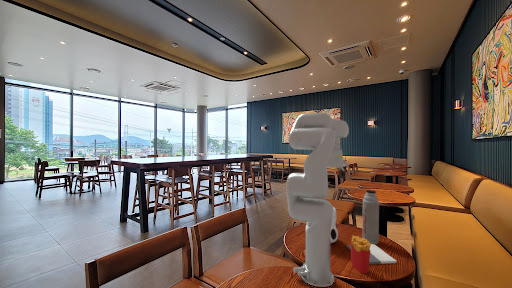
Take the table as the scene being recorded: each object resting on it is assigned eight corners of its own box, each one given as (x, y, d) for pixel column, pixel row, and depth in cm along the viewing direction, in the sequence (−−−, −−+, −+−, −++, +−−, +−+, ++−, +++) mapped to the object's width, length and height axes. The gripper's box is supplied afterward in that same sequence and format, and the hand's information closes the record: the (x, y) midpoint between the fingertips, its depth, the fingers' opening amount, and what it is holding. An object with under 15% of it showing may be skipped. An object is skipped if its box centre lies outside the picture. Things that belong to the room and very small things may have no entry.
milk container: (305, 245, 112) (305, 211, 112) (305, 231, 129) (305, 202, 129) (340, 249, 108) (340, 214, 108) (335, 235, 125) (335, 204, 125)
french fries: (348, 264, 95) (348, 235, 95) (355, 262, 96) (355, 233, 96) (365, 276, 86) (365, 244, 86) (373, 273, 88) (373, 242, 88)
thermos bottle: (364, 243, 115) (365, 191, 115) (360, 237, 122) (361, 188, 122) (380, 244, 113) (381, 192, 113) (375, 238, 121) (376, 189, 121)
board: (365, 264, 94) (365, 262, 94) (346, 246, 110) (346, 245, 110) (396, 263, 96) (396, 260, 96) (373, 246, 112) (373, 244, 112)
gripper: (320, 147, 114) (320, 178, 114) (351, 147, 115) (351, 179, 115) (315, 147, 121) (315, 176, 121) (344, 147, 122) (344, 176, 122)
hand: (332, 177), depth 118 cm, fingers open, 9 cm apart
